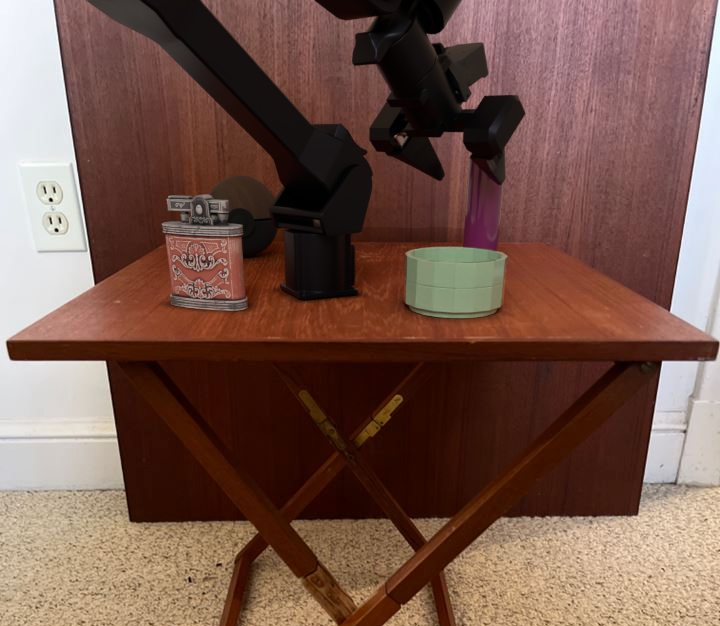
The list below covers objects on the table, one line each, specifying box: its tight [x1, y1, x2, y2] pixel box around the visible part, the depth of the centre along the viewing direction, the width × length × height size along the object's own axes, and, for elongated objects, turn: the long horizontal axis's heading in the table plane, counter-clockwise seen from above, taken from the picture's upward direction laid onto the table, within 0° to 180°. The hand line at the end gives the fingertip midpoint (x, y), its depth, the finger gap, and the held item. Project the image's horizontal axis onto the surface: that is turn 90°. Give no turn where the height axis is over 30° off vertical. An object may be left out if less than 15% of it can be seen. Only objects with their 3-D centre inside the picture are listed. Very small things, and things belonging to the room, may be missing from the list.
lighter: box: [161, 193, 249, 312], centre depth 66 cm, size 8×3×10 cm, turn 71°
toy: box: [209, 174, 279, 258], centre depth 92 cm, size 9×10×10 cm
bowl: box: [403, 246, 509, 319], centre depth 67 cm, size 9×9×5 cm
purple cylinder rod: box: [462, 156, 507, 252], centre depth 88 cm, size 4×4×12 cm
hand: (471, 180), depth 84 cm, fingers open, 9 cm apart
